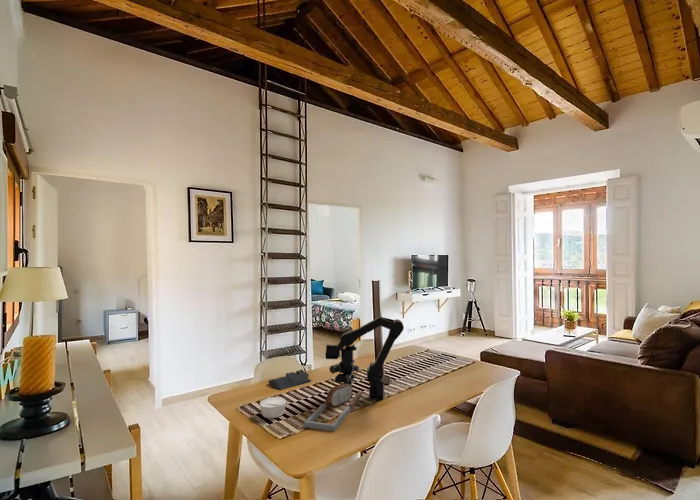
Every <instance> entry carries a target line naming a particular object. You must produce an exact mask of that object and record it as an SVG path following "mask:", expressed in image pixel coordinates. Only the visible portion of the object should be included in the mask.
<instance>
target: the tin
mask: <svg viewBox="0 0 700 500" xmlns="http://www.w3.org/2000/svg"><path fill="white" fill-rule="evenodd" d="M352 396H353V386H352V385H349V384H347V383H340V384H338V385H335V386H332V387H331V388H330V389H329V390H328V393H327V394H326V400H327V403H328V404H329V406H332V407H338V406H340V405H342V404H345V403H348V402H349V401H350V400H352Z"/></svg>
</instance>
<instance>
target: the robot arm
mask: <svg viewBox="0 0 700 500" xmlns="http://www.w3.org/2000/svg"><path fill="white" fill-rule="evenodd" d="M380 327H382V328H385V329H388V335H387V336H386V339H385V341H384V343H383V344H382V347H381V350H379V353H378V355H377V357H376V359H375V361H374V362H373V363H372V362H370V363H369V365H368V367H367V368H366V380H367V381H368V382H369V383H370V385H369V387H368V388H369V389H368V390H369V391H368V392H369V393H368V395H369V399H371V400H380V401H382V400H384V398H385V397H386V394H385V383H384V376H382V374H381V373H382V367H383V365H384V363H385V361H386V359H387V357H388V355H389V353H390V351H391V349H392V347H393V345H394V344H395V341H396V340H397V339H398V338H399V336H401V334H402V333H403V331H404V327H405V326H404V324H403V322H402V320H400V319H391V318H387V317H383V316H377V317H376V318H374V319H372V320H371V321H369V322H367V323H365V324H363V325H361V326H360V327H358V328H356V329H353V330H349V331H345V332H344V333H343V334H342V335H341V337H340V341H339V342H338V344H327V345H326V349H325V359H326V360H338V359H339V358H340V357H341V360H340V361H339V363H336V364H333V365H330V366H329V372H330V373H331V375H333V374H336V373H338V374H337V375H336V376H335V377H334V382H335V383H340V384H343V383H347V384H349V385H351V386H352V385H353V382H354V379H355V377H356V374H353V373H354V372H355V373H357V374H358V373H359V372H360V367H359V366H358V365H356V364H354V363H355V360H354V351H357V349H358V347H357V346H355V344H354V343H355V342H356V341H357V340H358V339H359V338H360V337H362V336H364V335H366V334H367V333H370V332H372V331H374V330H376V329H378V328H380Z"/></svg>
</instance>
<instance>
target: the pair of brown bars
mask: <svg viewBox="0 0 700 500" xmlns="http://www.w3.org/2000/svg"><path fill="white" fill-rule="evenodd" d="M362 397H363V392H362V391H358V392H357V393H356V395H355V396H354V397H353V398H352V399H351V401H350V402H349V403H348V406H350V410H352V409H353V408H355V406H356V405H357V403H358V402H359V401H360V400H361V398H362ZM324 403H325V404H326V407H329V406H330V405H329V404H328V403H327V399H325V401H324ZM355 404H356V405H355Z"/></svg>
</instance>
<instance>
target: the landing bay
mask: <svg viewBox="0 0 700 500" xmlns="http://www.w3.org/2000/svg"><path fill="white" fill-rule="evenodd" d="M326 409H327V406H326V404H325V402H324V403H322V404H321V405H320V406H319V407H318V408H317V409H316V410H314V412H312V413H311V414H310V415H309V417H307V419H306V420H305V421H304V422H303V427H304V428H309V429H315V430H321V431H330V432H336V430H337V429H338V428H339V426H340V425H341V424H342V422H343V421H344V420H345V419H346V418H347V416H348V415H349V413H351V409H350V406H349V405H347V406H346V407H345V408H344V409H343V410H342V411H341V413H340V414H339V416H338V417H337V418H336V419H335V420H334V421H333V423H328V422H327V423H326V422H321V421H318V422H317V421H316V419H317V418H318V417H319V416H320V415H321V414H322V413H323V412H324V411H325V410H326Z"/></svg>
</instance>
